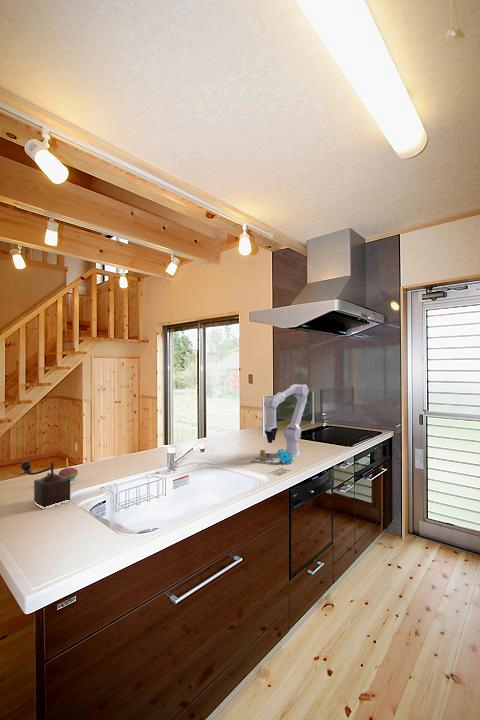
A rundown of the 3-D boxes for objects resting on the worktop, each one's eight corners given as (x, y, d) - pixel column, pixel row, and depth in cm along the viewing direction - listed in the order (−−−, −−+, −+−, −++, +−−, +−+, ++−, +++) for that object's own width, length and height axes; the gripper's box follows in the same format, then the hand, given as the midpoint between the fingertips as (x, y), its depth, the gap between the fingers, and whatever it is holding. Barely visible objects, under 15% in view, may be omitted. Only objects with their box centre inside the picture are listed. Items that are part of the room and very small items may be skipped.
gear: (281, 463, 187) (275, 447, 194) (276, 469, 191) (270, 453, 198) (297, 463, 192) (291, 448, 199) (292, 469, 196) (286, 454, 202)
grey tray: (255, 459, 203) (255, 457, 203) (274, 460, 199) (274, 458, 199) (251, 462, 195) (251, 460, 195) (271, 464, 191) (271, 462, 191)
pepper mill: (59, 495, 148) (59, 453, 148) (71, 501, 141) (71, 457, 141) (18, 507, 136) (18, 461, 136) (29, 514, 129) (29, 466, 129)
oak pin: (261, 460, 199) (260, 449, 199) (266, 460, 198) (265, 450, 198) (259, 461, 196) (259, 451, 196) (264, 461, 195) (264, 451, 195)
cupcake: (55, 483, 163) (55, 458, 164) (73, 478, 170) (73, 454, 170) (62, 487, 158) (62, 461, 158) (81, 482, 164) (81, 457, 164)
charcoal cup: (263, 456, 209) (263, 453, 209) (273, 457, 207) (273, 453, 207) (261, 458, 203) (261, 455, 203) (271, 459, 201) (271, 456, 201)
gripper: (267, 416, 211) (267, 438, 211) (261, 420, 197) (261, 443, 197) (278, 416, 209) (279, 439, 208) (273, 420, 195) (273, 444, 195)
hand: (271, 441), depth 203 cm, fingers open, 7 cm apart
